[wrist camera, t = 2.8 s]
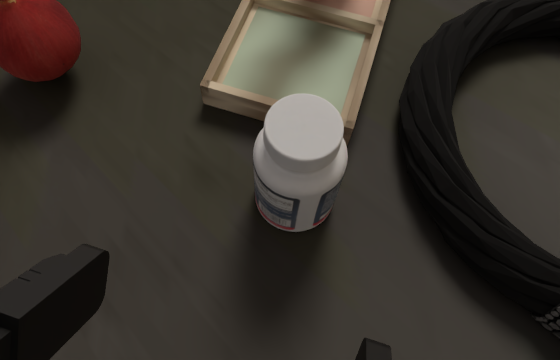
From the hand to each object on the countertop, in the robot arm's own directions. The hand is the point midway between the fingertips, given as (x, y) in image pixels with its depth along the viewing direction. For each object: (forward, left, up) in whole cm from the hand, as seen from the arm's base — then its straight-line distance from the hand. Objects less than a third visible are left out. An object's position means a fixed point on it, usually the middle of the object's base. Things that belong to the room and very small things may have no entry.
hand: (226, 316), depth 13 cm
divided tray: (+3, -25, -13) cm, 29 cm away
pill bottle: (0, -10, -14) cm, 17 cm away
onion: (+20, -14, -14) cm, 28 cm away
